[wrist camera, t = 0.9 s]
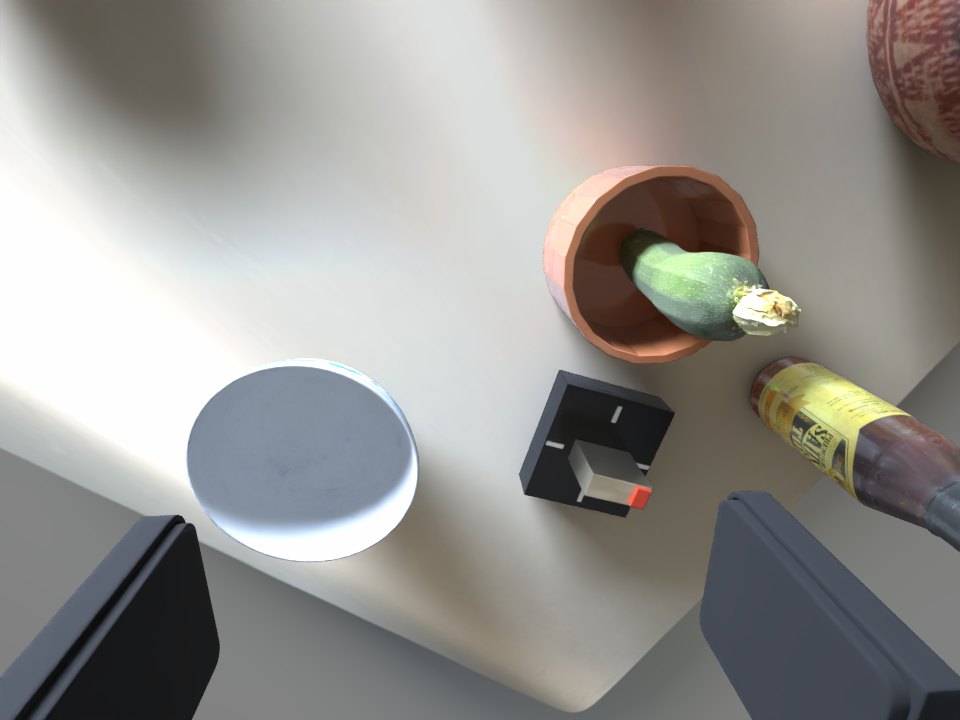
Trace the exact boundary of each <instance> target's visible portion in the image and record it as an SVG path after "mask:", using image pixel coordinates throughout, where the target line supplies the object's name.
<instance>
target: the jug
mask: <svg viewBox="0 0 960 720" xmlns="http://www.w3.org/2000/svg"><path fill="white" fill-rule="evenodd" d="M867 46H868V54H869V62H870V67H871V72H872V77H873V81H874V84H875V86H876V88H877V91H878V93H879V96H880V98H881V100H882V102H883V105H884V107H885V109H886V110H887V112H888V114H889V116H890V118H891V119H892V120H893V122H894V123H895V124H896V125H897V126H898V127H899V128H900V129H901V130H902V131H903V132H904V133H905V134H906V135H907V136H908V137H909V138H910V139H911V140H912V141H913V142H914V143H916V144H917V145H918V146H920V147H921V148H923V149H924V150H925V151H927V152H928V153H930V154H932V155H934V156H937V157H939V158H941V159H944V160H947V161H950V162H953V163H956V164H959V165H960V0H870V1H869V6H868V10H867Z"/></svg>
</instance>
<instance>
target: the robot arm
mask: <svg viewBox="0 0 960 720" xmlns="http://www.w3.org/2000/svg"><path fill="white" fill-rule="evenodd" d="M700 624H701V629H702V632H703V634H704V637H705V638H706V640H707V642H708V644H709V645H710V647H711V649H712V651H713V652H714V654H715V656H716V658H717V659H718V661H719V663H720V664H721V666H722V668H723V670H724V672H725V673H726V675H727V677H728V678H729V680H730V682H731V684H732V685H733V687H734V689H735V691H736V692H737V694H738V696H739V698H740V699H741V701H742V703H743V704H744V706H745V708H746V710H747V711H748V713H749V715H750V717H751V718H752V720H960V676H959V675H958V674H956V673H955V672H954V671H953V670H952V669H951V668H950V667H949V666H948V665H947V664H946V663H945V662H944V661H943V660H942V659H941V658H940V657H939V656H938V655H937V654H936V653H935V652H933V651H932V650H931V649H930V648H929V647H928V646H927V645H926V644H925V643H924V642H923V641H922V640H921V639H920V638H919V637H918V636H917V635H916V634H915V633H914V632H913V631H912V630H910V628H909V627H907V625H906V624H904V623H903V622H902V621H901V620H900V619H899V618H898V617H897V616H896V615H895V614H894V613H893V612H892V611H891V610H890V609H889V608H888V607H887V606H886V605H884V603H883V602H881V600H879V599H878V598H877V597H876V596H875V595H874V594H873V593H872V592H871V591H870V590H869V589H868V588H867V587H866V586H865V585H864V584H863V583H862V582H861V581H860V580H859V579H858V578H857V577H855V576H854V575H853V574H852V573H851V572H850V571H849V570H848V569H847V568H846V567H845V566H844V565H843V564H842V563H841V562H840V561H839V560H838V559H837V558H836V557H835V556H834V555H833V554H832V553H831V552H829V551H828V550H827V549H826V548H825V547H824V546H823V545H822V544H821V543H820V542H819V541H818V540H817V539H816V538H815V537H814V536H813V535H812V534H811V533H810V532H809V531H808V530H807V529H805V528H804V527H803V526H802V525H801V524H800V523H799V522H798V521H797V520H796V519H795V518H794V517H793V516H792V515H791V514H790V513H789V512H788V511H787V510H786V509H785V508H784V507H783V506H782V505H781V504H780V503H778V502H777V501H776V500H775V499H774V498H773V497H772V496H771V495H770V494H769V493H767V492H766V491H742V492H732V493H730V494H729V496H728V498H727V500H724V501H722V502H721V503H720V505H719V508H718V514H717V519H716V525H715V531H714V537H713V542H712V548H711V554H710V559H709V565H708V571H707V577H706V582H705V588H704V594H703V599H702V605H701V611H700ZM219 650H220V644H219V638H218V633H217V628H216V624H215V619H214V614H213V609H212V605H211V600H210V596H209V591H208V586H207V581H206V576H205V571H204V566H203V562H202V557H201V552H200V547H199V542H198V538H197V533H196V529H195V527H194V525H193V524H191V523H186V522H185V520H184V518H183V517H182V516H180V515H166V516H146V517H142V518H141V519H139V520H138V521H137V522H136V523H135V524H134V526H133V527H132V528H131V529H130V530H129V531H128V532H127V534H126V535H125V536H124V537H123V538H122V539H121V540H120V542H119V543H118V544H117V545H116V546H115V547H114V548H113V550H112V551H111V552H110V553H109V554H108V555H107V556H106V557H105V559H104V560H103V561H102V562H101V563H100V564H99V566H98V567H97V568H96V569H95V570H94V571H93V573H91V575H90V576H89V577H88V578H87V579H86V580H85V581H84V583H83V584H82V585H81V586H80V587H79V588H78V590H77V591H76V592H75V593H74V594H73V595H72V596H71V597H70V599H69V600H68V601H67V602H66V603H65V604H64V606H62V608H61V609H60V610H59V611H58V612H57V613H56V615H55V616H54V617H53V618H52V619H51V620H50V621H49V623H48V624H47V625H46V626H45V627H44V628H43V630H41V632H40V633H39V634H38V635H37V636H36V637H35V638H34V640H33V641H32V642H31V643H30V644H29V645H28V647H27V648H26V649H25V650H24V651H23V652H22V653H21V654H20V656H19V657H18V658H17V659H16V660H15V661H14V663H12V665H11V666H10V667H9V668H8V669H7V670H6V672H5V673H4V674H3V675H2V676H1V677H0V720H192V718H193V716H194V714H195V711H196V709H197V707H198V705H199V702H200V700H201V698H202V696H203V694H204V691H205V689H206V687H207V685H208V683H209V681H210V679H211V676H212V674H213V672H214V670H215V667H216V665H217V662H218V658H219Z"/></svg>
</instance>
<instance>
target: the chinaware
mask: <svg viewBox="0 0 960 720" xmlns="http://www.w3.org/2000/svg"><path fill="white" fill-rule="evenodd" d="M185 461H186V470H187V475H188V479H189V483H190V486H191V488H192V491H193V493H194V495H195V497H196V499H197V501H198V503H199V504H200V506H201V507H202V509H203V510H204V512H205V513H206V514H207V515H208V517H209V518H210V519H211V520H212V521H213V522H214V523H215V524H216V525H217V526H218V527H219V528H220V529H221V530H222V531H224V532H225V533H226V534H227V535H229V536H230V537H231V538H233V539H234V540H236V541H237V542H239V543H241V544H242V545H244V546H246V547H248V548H250V549H252V550H255V551H257V552H259V553H262V554H265V555H268V556H271V557H275V558H279V559H284V560H289V561H298V562H323V561H331V560H336V559H341V558H345V557H348V556H351V555H354V554H357V553H359V552H362V551H364V550H366V549H368V548H370V547H372V546H373V545H375V544H377V543H378V542H380V541H381V540H382V539H384V538H385V537H386V536H388V535H389V534H390V533H391V532H392V531H393V530H394V529H395V528H396V527H397V526H398V525H399V523H400V522H401V521H402V520H403V518H404V517H405V515H406V514H407V512H408V510H409V508H410V506H411V504H412V502H413V500H414V497H415V494H416V490H417V486H418V480H419V457H418V451H417V447H416V443H415V439H414V436H413V433H412V431H411V428H410V426H409V424H408V422H407V419H406V418H405V416H404V414H403V412H402V411H401V409H400V408H399V406H398V405H397V403H396V402H395V401H394V400H393V398H392V397H391V396H390V395H389V394H388V393H387V392H386V391H385V390H384V389H383V388H382V387H381V386H380V385H379V384H377V383H376V382H375V381H373V380H372V379H371V378H369V377H368V376H366V375H364V374H363V373H361V372H359V371H357V370H355V369H353V368H350V367H348V366H345V365H342V364H339V363H336V362H331V361H326V360H320V359H289V360H283V361H277V362H273V363H269V364H266V365H262V366H259V367H257V368H254V369H252V370H249V371H247V372H245V373H243V374H241V375H239V376H237V377H235V378H233V379H232V380H230V381H229V382H227V383H226V384H224V385H223V386H221V387H220V388H219V389H218V390H217V391H215V392H214V393H213V394H212V395H211V396H210V397H209V398H208V399H207V401H206V402H205V403H204V404H203V406H202V407H201V408H200V410H199V411H198V413H197V415H196V416H195V418H194V420H193V423H192V425H191V427H190V430H189V434H188V437H187V442H186V451H185Z"/></svg>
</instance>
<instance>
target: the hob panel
mask: <svg viewBox="0 0 960 720" xmlns="http://www.w3.org/2000/svg"><path fill="white" fill-rule="evenodd" d="M674 415H675V412H674V411H673V410H672V409H671V408H670V407H669V406H668V405H667V404H666V403H665V402H664V401H663V400H662V399H661V398H660V397H657V396H654V395H650V394H646V393H643V392H639V391H635V390H632V389H628V388H624V387H621V386H617V385H613V384H610V383H606V382H602V381H599V380H595V379H591V378H588V377H584V376H581V375H577V374H573V373H570V372H566V371H562V370H559V372H558V375H557V377H556V380H555V382H554V385H553V388H552V390H551V393H550V395H549V398H548V401H547V403H546V406H545V408H544V411H543V414H542V416H541V419H540V421H539V424H538V427H537V429H536V432H535V434H534V437H533V440H532V442H531V445H530V447H529V450H528V453H527V455H526V458H525V460H524V463H523V466H522V468H521V471H520V473H519V476H520V480H521V483H522V487H523V491H524V494H525V495H528V496H533V497H537V498H542V499H546V500H550V501H555V502H559V503H563V504H568V505H572V506H577V507H581V508H585V509H590V510H594V511H598V512H603V513H607V514H612V515H616V516H620V517H626V516H627V514H628V511H629V509H630V507H631V506H628V505H624V504H619V503H615V502H611V501H607V500H602V499H598V498H594V497H589V496H585V495H584V494H583V491H582V489H581V487H580V485H579V482H578V480H577V478H576V475H575V473H574V471H573V469H572V466H571V464H570V462H569V459H568V457H569V455H570V452H571V450H572V447H573V445H574V442H575V440H576V439H578V440H582V441H586V442H590V443H594V444H598V445H601V446H605V447H609V448H613V449H617V450H621V451H625V452H629V453H630V454H631V456H632V457H633V459H634V461H635V462H636V464H637V465H638V467H639V468H640V470H641V471H642V473H643V474H644V476H646V474H647V471H648V470H649V468H650V465H651V463H652V461H653V459H654V457H655V455H656V453H657V450H658V448H659V446H660V444H661V442H662V440H663V438H664V436H665V434H666V431H667V429H668V427H669V425H670V423H671V421H672V419H673V417H674Z"/></svg>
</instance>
